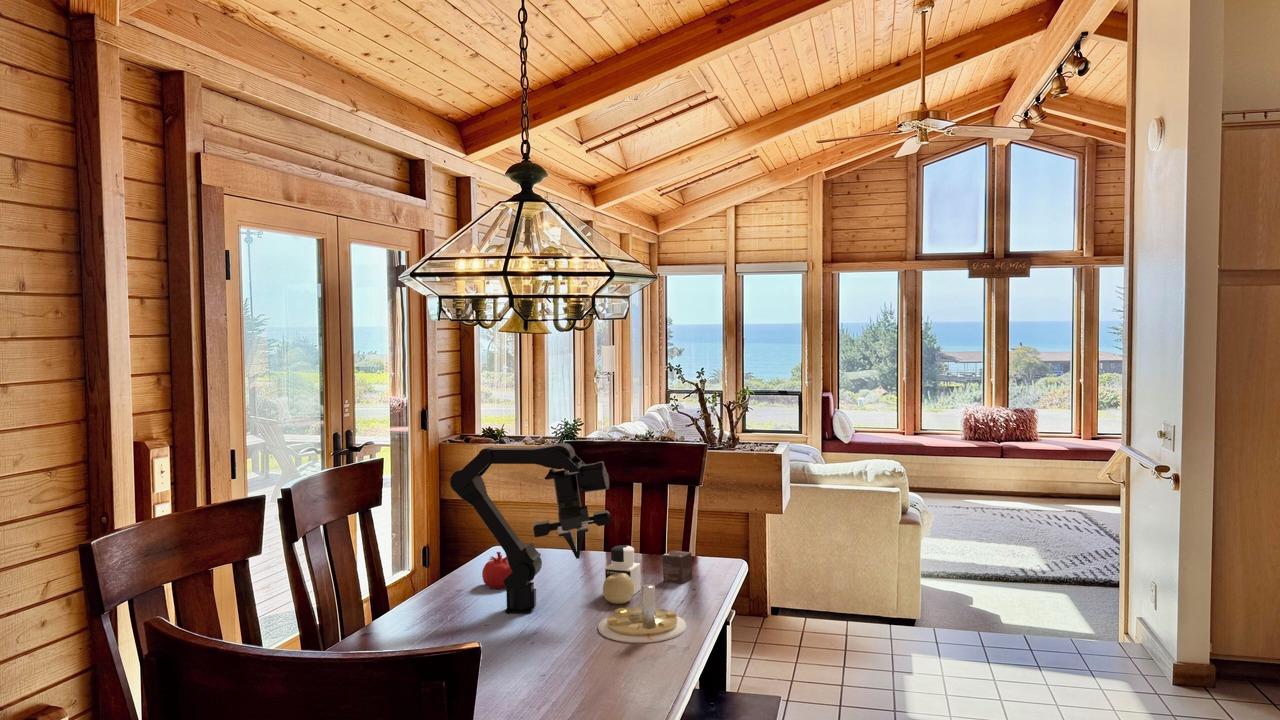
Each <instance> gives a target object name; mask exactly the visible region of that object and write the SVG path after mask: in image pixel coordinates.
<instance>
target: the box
mask: <svg viewBox="0 0 1280 720" xmlns="http://www.w3.org/2000/svg"><path fill="white" fill-rule="evenodd" d="M692 559H693V558H692V552H691V551H684V550H683V551H682V550H681V551H680V550H675V549H674V550H670V551H668V552H665V553H664V554H662V575H663V576H662V578H663V582H668V581H669V582H668V583H675V582H676V583H678V584H685V583H686V582H687V581H690V580H691V578H692V579H693V564H692V563H693V562H692V561H693V560H692Z"/></svg>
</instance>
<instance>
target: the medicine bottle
mask: <svg viewBox="0 0 1280 720" xmlns="http://www.w3.org/2000/svg"><path fill="white" fill-rule="evenodd" d="M610 560H611V561H610V563H611V564H609V565H608V566H607V567H605V569H604V570H605V571H604V574H605V579H606V578H607V577H609V576H611V575H613V574H617V573H625V574H627V575H628V576H629V577H630V578H631V579H632V581H633V584H634V593H633V596H634V595H636V594H637V593H638V592H639V591H642V585H641V581H642V579H641V563H639V562H635V548H634V547H632V546H630V545H628V544H625V545H623V544H621V545H615V546H614V547H612V548H611V549H610Z"/></svg>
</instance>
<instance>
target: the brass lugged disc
mask: <svg viewBox="0 0 1280 720" xmlns="http://www.w3.org/2000/svg"><path fill="white" fill-rule="evenodd" d="M606 618H607V626H608V628H609V629H610V630H612V631H614V632H617V633H620V634H625V635H635V636H645V635H655V634H661V633H665V632H668V631H670V630H672V629H674V628H675V627H676V626H677V613H676V611H675V610H668V609H664V608H660V607H659V608H658V607H656V585H655V584H643V585H641V606H640V607H631V608H624V607H619V608H616V609H615V610H614V612H613V613H611V614H609V615H608V616H607V617H606Z"/></svg>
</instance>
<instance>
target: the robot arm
mask: <svg viewBox="0 0 1280 720" xmlns="http://www.w3.org/2000/svg"><path fill="white" fill-rule="evenodd" d="M492 465H537V466H541V467H544V468H550V469H549V470H548V472H547V474H546V476H545V477H544V480H545V481H547V480H553V485H554V486H553V487H554V492H555V497H556V504H557V509H558V513H557V514H558V521H557V522H551V521H550V519H548V520H546V519H545V520H543V521H537V522H536V521H535V524H533V529H532V530H533V534H534V535H533V536H534V538H540V537H543V536H544V537H546V536H548V535H549V534H550V533H551V532H552V531H557V532H558V537H563V539H564V540H565V541H566V542H567V543H568V545H569V547H570V550H571V552H572V554H573V555H574V557H575V559H576V560H578V559H579V560H580V557H581V552H582V550H581V549H582V543H583V539H584V536H585V533H587V532H589V525H593V524H595V525H596V526H598V527H601V526H607V525H611V524H612V520H611V513H610V511H608V510H607V509H605V510H599V511H595V512H594V511H593V515H590V516H589V510H588V505H583V506H582V501H581V495H580V494H581V493H580V490H583V491H584V492H585V493H589V492H590V493H592V492H598V491H604V490H605V491H606V490H609V488H610V477H609V472H607V467H606V466H605V462H604V461H598V462H595V463H587V464H586V463H585V462H584V461H583V460H582V459H581V458H580V457H578V456H577V454H576V452H575V448H573V446H572V445H571V444H570V443H568V442H567V443H566V442H560V443H555V444H550V445H545V446H541V447H494V446H488V447H485V448H482V449H481V450H480V451H479V452H478V454H477V455H476V456H475V457H474V458H472V460H470V461H469V462H468V463H467V464H466V465H465V466H464V467H463V468H461V469H459V470H457V471H454V472H453V473H452V475H451V476H450V479H449V485H450V488H451V490H452V491H453V492H454V493H455V494H457V496H458V497H459V498H460V499H462V500H464V501H465V502H466V503H468V505H471V506H472V508H473V509H474V510H475V512H476V513H477V515H478V516H479V517H480V519H481V520H482V522H483V523H484V524H485V526H486V527H487V529H488V530H489V532H491V534H492V536H493V537H494V538H495V540H496V541H497V543H498V544H499V546H500V547H501V548H502V550H503V551H504V553H505V557H507V560H508V564H509V567H510V569H511V571H512V573H511V574H510V575H509V576H508V577H507V578H506V579H505V580H504V584H505V589H506V590H505V591H506V608H505V610H504V613H505V614H507V613H509V614H510V613H511V614H513V613H515V614H521V613H522V614H531V613H532V612H533V611H534V609H535V608H536V606H537V589H536V588H535V584H534V583H535V582H533V580H534V579H535V576H536V575H537V574H538V573H539V572H541V569H542V566H543V561H542V558H541V556H542V554H541V553H540V552H538V550H537V549H536V547H535V545H534V544H533V542H532V541H530V542H529V543H528V544H526V543H524V542H523V541H521V540H520V538H519V537H518V535H517V534H516V532H515V531H514V530H513V528H512V527H511V526H510V524H509V523H508V521H507V520H506V519H505V517H504V516H503V514H502V513H501V512H500V510H499V509H498V508H497V506H496V504H495V503H494V502H493V500H492V499H491V498H490V496H489V495H488V491H487V487H486V485H485V481H484V478H483V477H482V476H483V475H484V474H485V473H486V472H487V471H488V469H489V468H490V467H491V466H492ZM579 488H580V489H579ZM572 530H576V533H575V534H576V543H575V540H574V536H573V534H572V533H573V532H572Z"/></svg>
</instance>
